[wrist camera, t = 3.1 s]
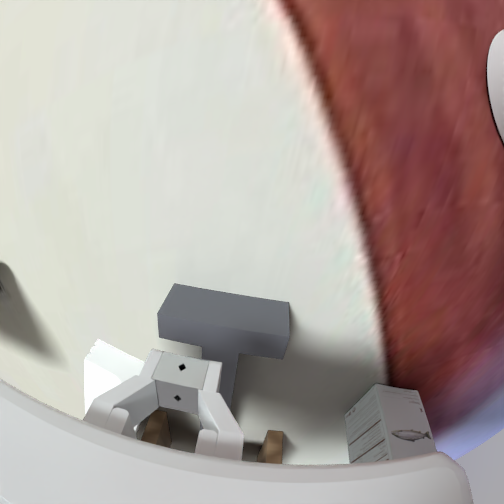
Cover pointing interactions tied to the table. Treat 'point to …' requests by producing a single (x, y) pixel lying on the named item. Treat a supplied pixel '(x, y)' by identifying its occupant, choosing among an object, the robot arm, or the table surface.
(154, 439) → the bench
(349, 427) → the supplement box
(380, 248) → the table surface
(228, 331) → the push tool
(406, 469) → the robot arm
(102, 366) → the white piece
